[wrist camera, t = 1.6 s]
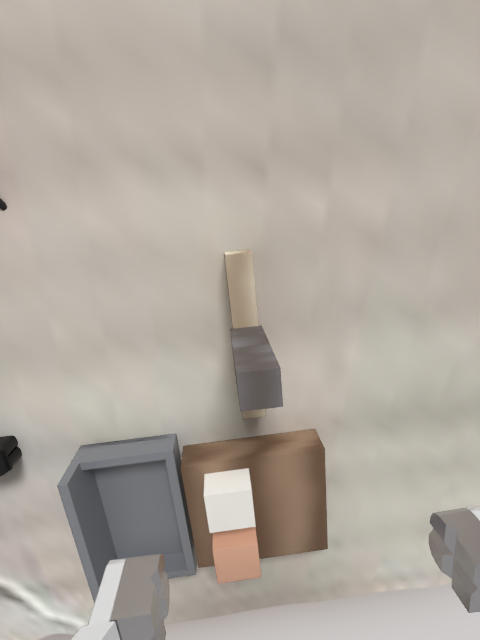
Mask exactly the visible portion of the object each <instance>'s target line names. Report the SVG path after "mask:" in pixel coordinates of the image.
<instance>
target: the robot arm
mask: <svg viewBox="0 0 480 640" xmlns="http://www.w3.org/2000/svg"><path fill="white" fill-rule="evenodd" d="M430 524H431V525H432V526H433V528H434V529H433V530H432V531H431V533H430V534H429V546H430V550H431V554H432V556H433V558H434V560H435V562H436V564H437V565H438V567H439V568H440V570H441V571H442V572H443V573H445V574H446V575H448V576H449V577H451V578H452V588H453V590H454V591H455V593H456V594H457V596H458V597H459V599H460V600H461V602H462V603H463V605H464V606H465V608H466V609H467V611H468V612H469V613H472V612H480V506H477V507H470V508H465V509H464V508H461V509H455V510H449V511H442V512H436V513H433V514H432V515H431V518H430ZM164 566H165V561H164V557H163V554H156V555H148V556H139V557H131V558H123V559H116V560H110V561H109V563H108V564H107V566H106V568H105V572H104V575H103V578H102V581H101V584H100V588H99V591H98V594H97V597H96V601H95V604H94V607H93V610H92V613H91V617H90V620H89V623H88V625H85V626H82V627H81V628H80V630H79V631H78V632H77V633H76V634H75V636H74V637H73V638H72V639H71V640H165V636H166V631H165V626H164V622H163V621H164V619H165V618H166V616H167V615H168V610H169V579H168V574H167V573H166V572H164Z"/></svg>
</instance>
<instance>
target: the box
mask: <svg viewBox="0 0 480 640" xmlns="http://www.w3.org/2000/svg"><path fill="white" fill-rule="evenodd" d="M57 487H58V490H59V493H60V496H61V499H62V503H63V506H64V509H65V512H66V515H67V518H68V522H69V525H70V528H71V531H72V534H73V537H74V540H75V544H76V547H77V550H78V553H79V556H80V559H81V563H82V566H83V569H84V572H85V575H86V578H87V581H88V585H89V588H90V591H91V594H92V597H93V600H94V604H95V601H96V597H97V594H98V591H99V588H100V584H101V581H102V578H103V575H104V572H105V568H106V566H107V564H108V563H109V561H110V560H116V559H123V558H131V557H139V556H148V555H156V554H163V557H164V561H165V566H164V572H166V573H167V574H168V579H169V578H175V577H182V576H189V575H196V564H197V556H196V550H195V545H194V539H193V534H192V528H191V523H190V517H189V512H188V506H187V501H186V495H185V490H184V484H183V479H182V473H181V459H180V453H179V447H178V442H177V436H176V434H169V435H161V436H153V437H145V438H138V439H130V440H122V441H114V442H107V443H99V444H91V445H83V446H80V448H79V450H78V451H77V453H76V455H75V457H74V458H73V460H72V462H71V463H70V465H69V467H68V468H67V470H66V472H65V473H64V475H63V477H62V478H61V480H60V482H59V484H58V485H57Z"/></svg>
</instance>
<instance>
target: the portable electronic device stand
mask: <svg viewBox="0 0 480 640" xmlns="http://www.w3.org/2000/svg"><path fill="white" fill-rule="evenodd" d="M17 444H18V442H17V439H16V438H15V437H14V436H5V437H0V476H2V475H4V474H5V473H7V472H8V471H10V470H11V469H12V467H13V465H14V464H15V463H16V462H17V461H18V459H19V458H20V457H21V456H22V452H21V450H20V448H18V447H16V446H17Z"/></svg>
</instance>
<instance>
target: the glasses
mask: <svg viewBox="0 0 480 640" xmlns="http://www.w3.org/2000/svg"><path fill="white" fill-rule="evenodd" d="M6 208H7V206H6V204H5V202H4V201H2V200H1V199H0V209H2V210H5V209H6Z"/></svg>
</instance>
